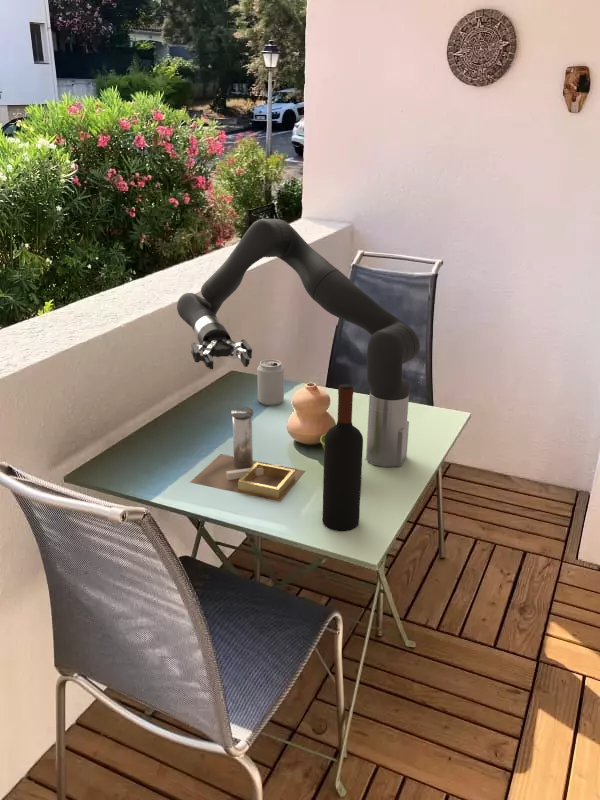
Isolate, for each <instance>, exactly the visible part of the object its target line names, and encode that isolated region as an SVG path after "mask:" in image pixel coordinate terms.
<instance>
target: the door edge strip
mask: <svg viewBox="0 0 600 800" xmlns="http://www.w3.org/2000/svg"><path fill="white" fill-rule="evenodd" d="M273 466H278V467H283V466H284V465H283V463H275V464H274V465H273ZM249 469H250V468H246V469H239V470H232V471H226V475H227V479H228V480H231V479H238V478H242V477H243V476H244V475H245V473H246V472H247V471H248V470H249ZM259 475H264V469H263V468H257V469H256V476H259Z"/></svg>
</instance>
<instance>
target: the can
mask: <svg viewBox="0 0 600 800" xmlns="http://www.w3.org/2000/svg"><path fill="white" fill-rule="evenodd" d="M282 364H283V363H282V362H281V361H280V360H278V359H272V358H270V359H269V358H268V359H263V360H261V361H260V362H259V365H258V367H257V368H256V369H257V400H258V402H260V403H261V404H262V405H264V406H270V407H271V405H272V406H277V404H278V405H279V403H280V404H281V403H282V402H283V401H284V398H285V397H284V396H285V394H284V393H285V367H284V366H283V365H282Z"/></svg>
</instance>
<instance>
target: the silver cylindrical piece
mask: <svg viewBox="0 0 600 800" xmlns="http://www.w3.org/2000/svg"><path fill="white" fill-rule="evenodd" d="M230 415H231V417H232V435H233V436H232V438H233V439H232V440H233V445H232V446H233V457H234V467H235V468H237V469H246V468H251V467H252V466H253V461H254V460H253V455H254V454H253V450H254V449H253V416H254V409H253V408H251V407H247V406H237V407H234V408H232V409H231V411H230Z"/></svg>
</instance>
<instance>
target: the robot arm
mask: <svg viewBox="0 0 600 800" xmlns="http://www.w3.org/2000/svg"><path fill="white" fill-rule="evenodd" d="M227 257H228V258H227V259H225V261H224V262H223V263H222V265H221V266H220V267H219V268H217V270H215V272H214V273H212V274H211V276H209V277H208V279H206V281H205V282H204V283H203V284H202V285H201V288H200V294H201V295H202V296H200V295H198V294H196V293H193V292H186V293H184V294H182V295H181V296H180V297H179V298H178V300H177V303H176V310H177V314H178V316H179V317H180V318H181V319H182V320H183V321H184V322H185V323H186V324H187V325H188V326H189V327H191V328H192V330H193V332H194V334H195V338H196V340H197V342H198V343H199V344H197V342H191V343H190V344H191V347H190V348H191V350H190V351H191V352H190V353H191V356H192V358H193V361H194V362H195V363H200V362H202V363H203V364H204V365H205V367H206V368H208V369H209V370H213V369H214V360H213V359H214V358H220V357H228V358H231V359H233V360H236V359H238V360H240V362H241V363H242V365H243V367H244V368H247V367H248V366H249V365H250V361H251V359H253V358H252V357H253V348H252V346H251V345H250V344H249V343H248V342H247V340H246V339H244V338H243V339H240V342H235V341H233V340H232V338H231V335H230V334H229V332H228V331H227V329H226V327H225V326H224V324H223V322H222V321H220V319H218V317H217V316H216V315H217V313H218V311H219V310H220V308H221V307H222V305H223V303H224V302H225V301H226V300H227V299H229V297H231V295H232V294H234V292H235V291H237V289H238V288H239V287H240V285H241V283H242V281H243V278H244V276H245V274H246V272H247V271H248V270H249V269H250V267H252V266H253V265H254V264H255V263H257V262H258V261H260V260H261V259H263V258H278V259H280V260H281V261H283V262H284V263H286V264H287V265H288V266H290V268H292V269H293V270H294V271H295V272H296V273H297V274H298V276H299V278H300V280H301V283H302V285H303V288H304V290H305V291H306V293H307V294H308V295H309V297H310V298H311V299H312V300H314V302H316V303H317V305H319V306H320V307H321V308H322V309H323V310H324V311H326V312H327V313H328V314H331V315H332V316H334V317H336V318H338V319H340V320H344V321H346V322H348V323H351V324H354V325H356V326H358V327H360V328H362V329H363V330H365V331H366V332H368V333H369V335H371V336H370V338H369V339H368V343H367V349H366V379H367V383H368V385H369V399H368V417H367V435H366V436H367V437H366V454H365V455H366V456H365V459H366V461H368V463H370V464H372V465H375V466H377V467H383V468H392V467H393V468H394V467H398V468H401V467H402V465H403V463H404V462H405V461H406V458H407V455H408V442H409V428H410V427H409V426H410V421H408V415H409V414H408V413H409V412H408V411H409V403H410V402H409V401H410V400H409V399H410V389H411V388H410V383H409V381H408V380H407V379H406V378H403V365H404V364H405V363H408V362H409V361H412V360H413V359H414V358H415V357H417V355H418V354H419V351H420V347H421V346H420V339H419V336H418V334H417V332H415V330H414V329H413V328H412V327H410V326H409V325H408V324H407V323H405V322H404V321H403V320H401V319H399V318H398V317H397V316H395V315H394V314H393V313H391V312H389V311H388V310H387V309H385V308H384V307H383V306H381V305H380V304H379V303H378V302H376V301H375V300H374V299H373V298H371V297H370V296H369V295H368V294H367V293H365V292H364V291H363V290H362V289H361V288H360V287H358V286H357V285H356V284H355V283H354V282H353V281H352V280H351V279H350V278H349V277H347V276H346V275H345V274H344V273H343V272H342V271H340V269H338V268H337V267H335V266H334V265H333V264H331V262H329V261H328V260H327V259H326V258H325V257H323V256H322V255H321V254H319V253H318V252H317V251H316V250H315V249H314V248H313V247H312V246H310V245H309V244H308V242H306V241H305V239H304V238H303V237H302V236H301V235H300V234H299V232H297V231H296V229H295V228H293V227H292V226H291V225H290V223H288V222H287V221H285V220H283V219H279V218H262V219H258V220H256V221H254V222H253V223H252V224H251V225H250V226H249V227H248V229H247V230H246V232H245V233H244V234H243V236H242V237H241V238H240V240H239V242H238V243H237V244H236V246H235V247H234V249H233V250H232V252H231V253H230V254H229V256H227ZM201 352H202V353H201ZM239 353H240V354H239Z"/></svg>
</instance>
